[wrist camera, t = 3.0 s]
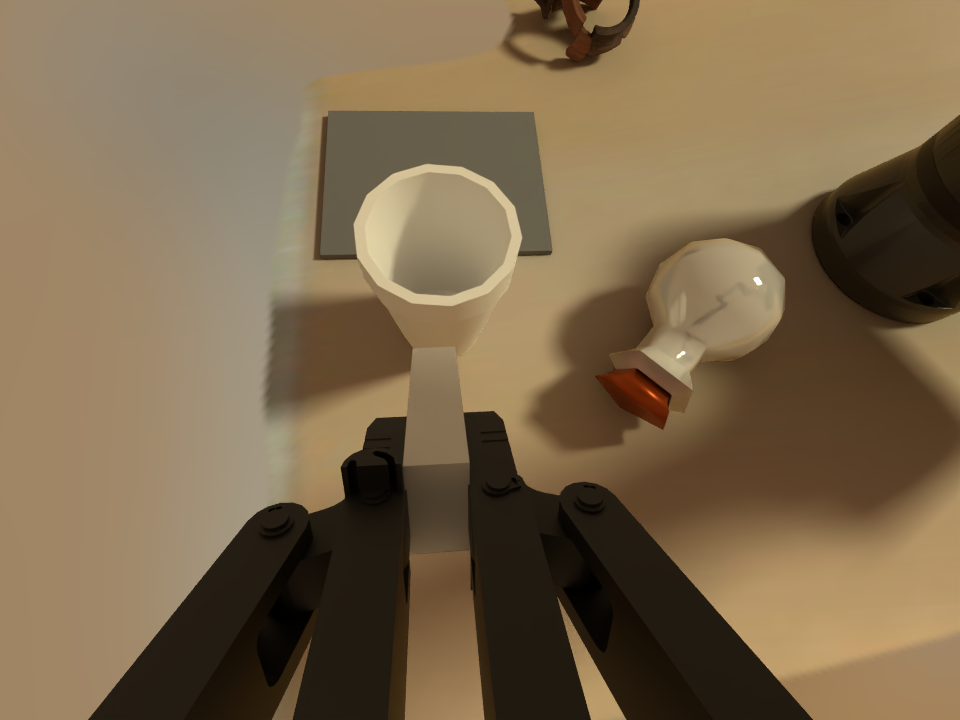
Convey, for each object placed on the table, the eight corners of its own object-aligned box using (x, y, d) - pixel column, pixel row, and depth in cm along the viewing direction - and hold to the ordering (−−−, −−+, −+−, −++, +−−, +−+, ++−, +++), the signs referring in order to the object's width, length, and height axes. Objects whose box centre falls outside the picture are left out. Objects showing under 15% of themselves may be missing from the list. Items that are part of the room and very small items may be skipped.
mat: (550, 254, 41) (552, 250, 40) (321, 258, 39) (319, 254, 39) (532, 117, 46) (533, 112, 46) (329, 115, 45) (328, 110, 44)
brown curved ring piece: (620, 11, 53) (661, -35, 46) (593, 93, 55) (628, 62, 47) (526, -39, 51) (553, -97, 43) (500, 49, 52) (521, 8, 44)
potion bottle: (718, 298, 42) (621, 422, 40) (672, 215, 38) (560, 346, 35) (830, 304, 34) (717, 461, 31) (786, 199, 30) (652, 368, 27)
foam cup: (406, 395, 36) (385, 329, 24) (368, 296, 38) (331, 191, 26) (516, 353, 38) (549, 271, 25) (472, 261, 40) (483, 147, 28)
